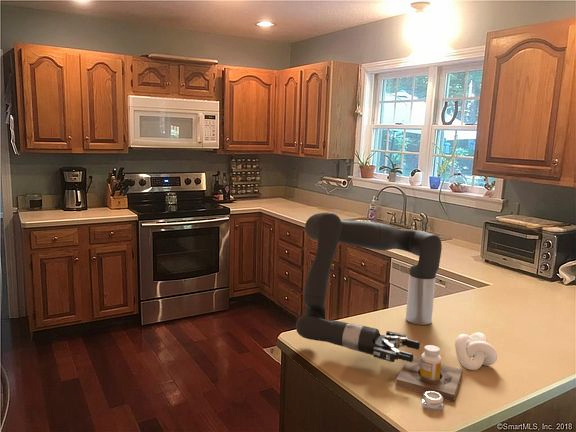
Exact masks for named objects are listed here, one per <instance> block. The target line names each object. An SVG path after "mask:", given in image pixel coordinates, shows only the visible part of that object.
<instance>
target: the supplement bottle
mask: <svg viewBox="0 0 576 432" xmlns="http://www.w3.org/2000/svg"><path fill="white" fill-rule="evenodd" d="M423 348H424V349H423V353H422V354H421V355H420V359H421V363H420V376H421V377H423V378H425V379H428V380H440V369H441V364H442V357H441V355H440V350H441V349H440V348H439V347H438V346H436V345H433V344H427V345H425V346H424V347H423Z"/></svg>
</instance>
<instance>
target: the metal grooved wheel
mask: <svg viewBox="0 0 576 432" xmlns="http://www.w3.org/2000/svg"><path fill="white" fill-rule="evenodd" d="M444 401H445V399H444V398H443V396H442V395H441V394H439V393H438V392H435V391H426V392H425V393H424V394H423V393H422V401H421V405H422V407H423V409H424V410H427V411H429V412H435V413H437V412H441V411H443V408H444Z"/></svg>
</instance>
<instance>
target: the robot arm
mask: <svg viewBox="0 0 576 432" xmlns="http://www.w3.org/2000/svg"><path fill="white" fill-rule="evenodd" d="M304 228H305V233H306V235H308V237H309V238H310V239H312V240H314V241H315V242H317V249H316V253H315V255H314V259H313V262H312V264H311V266H310V268H309V270H308V273H307V275H306V279H305V284H304V291H303V297H302V298H303V299H302V302H303V304H304V305H305V307H306V308H305V314H304V315H301V316H300V317H299V318H298V319H297V320H296V322H295V330H296V332H297V334H298V335H299V336H300V337H301V338H304V339H307V340H310V341H318V342H325V343H330V344H332V345H336V346H340V347H344V348H347V349H349V350H352V351H355V352H356V351H357V352H360V353H363V354H367V355H371V356H373V357H374V358H377V359H380V360H383V361H387V362H390V363H394V362H395V360H396V361H399V360H401V361H405V362H406V361H408V362H412V361H413V357H414V354H413V353H411V352H407V351H403V350H399V349H400V348H402V347H403V348H405V347H406V348H410V349H412V350H417V351H418V350H419V349H420V348H421V342H420V341H418V340H413V339H409V338H408V337H407V334H405V333H399V332H393V331H388V330H386V333H385V334H384V335H383V334H381V333H380V330H379V329H378V328H375V327H370V326H366V325H362V324H357V323H348V322H345V321H340V320H332V319H331V320H328V319H326V299H327V293H328V292H327V291H328V284H329V277H330V274H331V270H332V265H333V261H334V258H335V254H336V251H337V247H338V244H339V243H344V244H348V245H350V246H351V245H352V246H356V247H359V248H365V249H368V250H369V249H370V250H375V251H390V250H400V251H403V252H407V253H410V254H412V255H415V256H417V257H418V262H417V264H413V265H411V266H410V268H409V273H408V287H407V288H408V289H407V298H406V299H407V300H406V309H405V310H406V311H405V312H406V313H405V320H406V321H407V322H409V323H411V324H414V325H419V326H420V325H421V326H424V325H425V326H426V325H431V323H432V321H433V320H432V319H433V311H434V299H435V290H436V288H435V287H436V280H437V279H436V277H437V272H438V271H439V268H440V263H441V257H442V256H441V255H442V249H443V248H442V245H443V244H442V240H441V238H440V236H438V235H437V234H435V233H431V232H428V231H425V230H420V229H419V230H417V229H402V228H397V227H394V226H392V225H389V224H385V223H380V222H374V221H365V220H342V219H341V218H340V217H339V216H338V215H337V214H336V213H334V212H330V211H329V212H328V211H327V212H319V213H315V214H313V215H311V216H310V217H308V219H307V220H306V222H305V226H304Z"/></svg>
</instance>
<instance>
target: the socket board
mask: <svg viewBox="0 0 576 432" xmlns="http://www.w3.org/2000/svg"><path fill="white" fill-rule="evenodd" d="M420 363H421V358H418V357H414V356H413V361H412V362H408V361H405V363H404V365H403V366H402V368H401V370H400V372H399V373H398V375H397V377H396V379H395V386H396V387H399V388H403V389H405V390H409V391H414V392H416V393H420V394H422V395H423V394H424V393H425V392H426V391H435V392H438V393H439V394H441V395H442V396H443V398H444V401H449V402H452V403H455V399H456V396H457V394H458V393H457V392H458V389H459V386H460V383H461V379H462V377H463V369H462V368H458V367H454V366H450V365H445V364H442V363H441V369H440V380H428V379H425V378H423V377H421V376H420Z"/></svg>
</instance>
